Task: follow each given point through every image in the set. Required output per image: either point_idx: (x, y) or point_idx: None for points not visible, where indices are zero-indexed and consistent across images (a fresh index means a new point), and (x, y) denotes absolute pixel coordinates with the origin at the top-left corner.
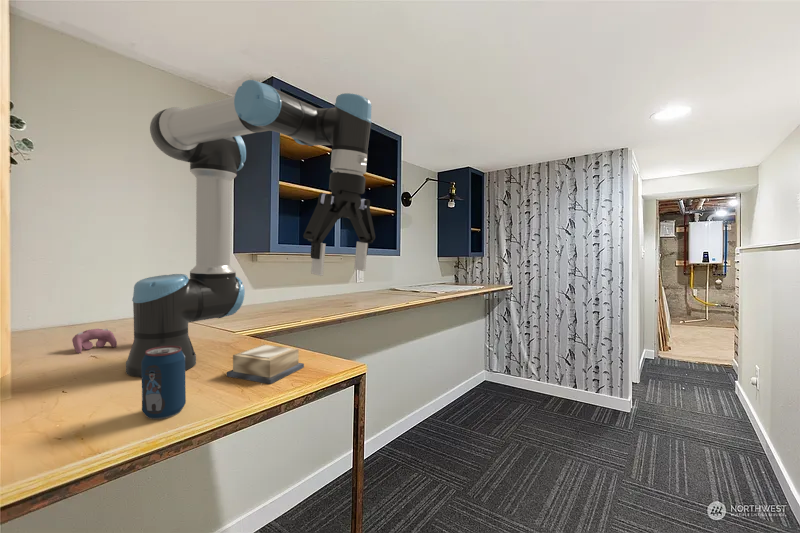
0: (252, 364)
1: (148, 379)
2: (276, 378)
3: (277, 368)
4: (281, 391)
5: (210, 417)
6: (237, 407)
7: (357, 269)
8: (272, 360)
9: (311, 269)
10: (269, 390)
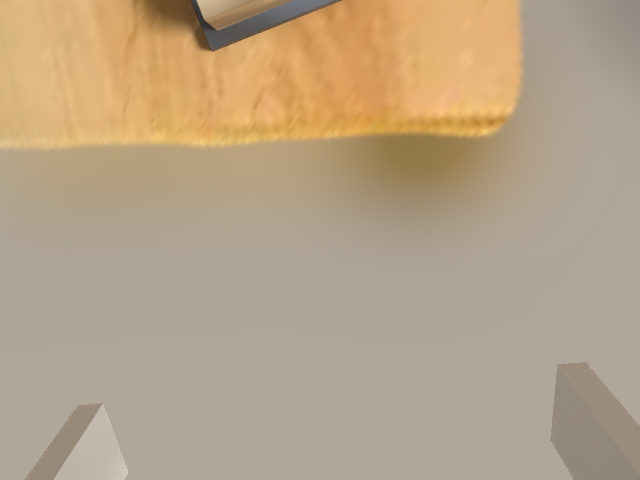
0: None
1: None
2: (236, 40)
3: (247, 12)
4: (209, 124)
5: (17, 142)
6: (82, 135)
7: (556, 395)
8: (215, 15)
9: (63, 427)
10: (188, 93)
